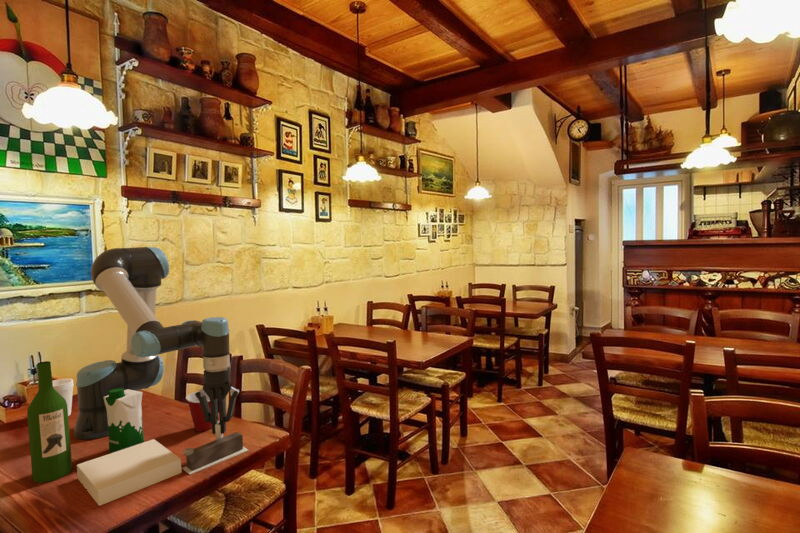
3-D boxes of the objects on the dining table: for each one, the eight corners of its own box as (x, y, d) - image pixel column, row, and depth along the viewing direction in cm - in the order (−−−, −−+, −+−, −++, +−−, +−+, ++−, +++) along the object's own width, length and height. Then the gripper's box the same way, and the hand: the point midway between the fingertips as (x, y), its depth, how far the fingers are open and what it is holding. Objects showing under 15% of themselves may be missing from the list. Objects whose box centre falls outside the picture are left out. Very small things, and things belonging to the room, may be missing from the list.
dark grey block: (187, 472, 125) (186, 453, 124) (182, 468, 127) (181, 450, 126) (243, 448, 138) (242, 431, 138) (237, 445, 140) (236, 428, 140)
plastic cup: (209, 436, 149) (207, 401, 148) (180, 433, 151) (178, 399, 150) (227, 422, 159) (226, 389, 159) (201, 420, 162) (199, 388, 161)
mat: (182, 468, 128) (182, 467, 128) (240, 445, 141) (240, 444, 141) (190, 474, 124) (189, 473, 124) (248, 450, 138) (248, 449, 138)
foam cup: (49, 413, 172) (46, 381, 171) (78, 409, 176) (75, 377, 175) (41, 422, 164) (38, 388, 163) (72, 417, 168) (69, 384, 167)
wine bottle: (40, 486, 120) (30, 368, 118) (27, 477, 125) (17, 364, 123) (78, 471, 128) (69, 360, 126) (64, 463, 133) (55, 356, 130)
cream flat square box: (77, 478, 124) (76, 464, 124) (154, 451, 139) (153, 439, 139) (99, 505, 111) (98, 490, 110) (181, 472, 126) (180, 459, 125)
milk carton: (104, 453, 138) (99, 390, 137) (132, 440, 147) (128, 381, 145) (122, 458, 135) (117, 394, 133) (150, 445, 143) (145, 384, 142)
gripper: (190, 372, 131) (193, 449, 133) (234, 371, 132) (237, 448, 134) (200, 365, 139) (203, 438, 140) (241, 364, 140) (244, 437, 141)
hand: (219, 443), depth 137 cm, fingers closed
